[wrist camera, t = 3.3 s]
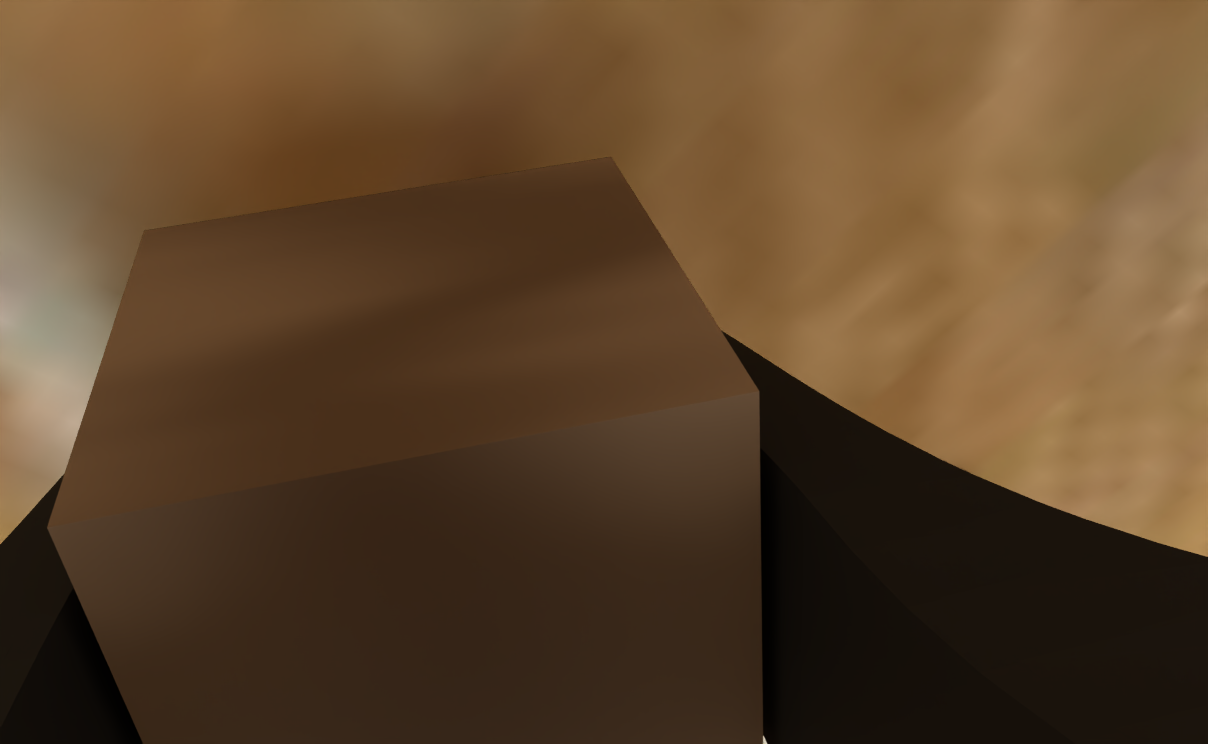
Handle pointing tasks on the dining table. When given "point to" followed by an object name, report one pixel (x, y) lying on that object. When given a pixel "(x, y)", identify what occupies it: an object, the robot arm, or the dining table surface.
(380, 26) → the dining table surface
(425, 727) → the walnut cube
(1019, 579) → the robot arm
